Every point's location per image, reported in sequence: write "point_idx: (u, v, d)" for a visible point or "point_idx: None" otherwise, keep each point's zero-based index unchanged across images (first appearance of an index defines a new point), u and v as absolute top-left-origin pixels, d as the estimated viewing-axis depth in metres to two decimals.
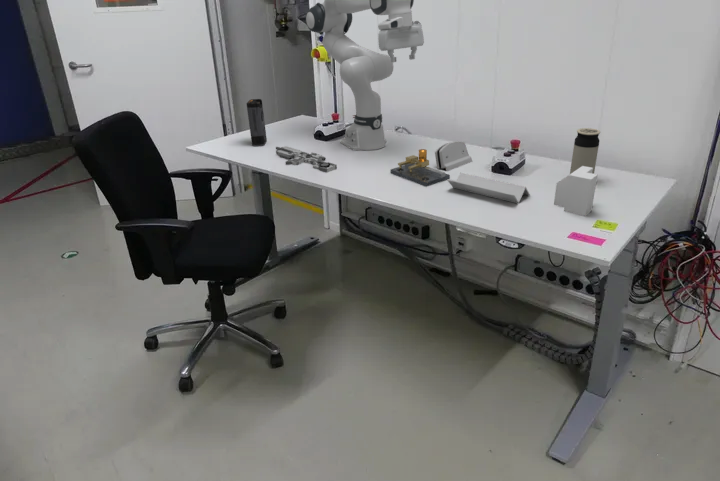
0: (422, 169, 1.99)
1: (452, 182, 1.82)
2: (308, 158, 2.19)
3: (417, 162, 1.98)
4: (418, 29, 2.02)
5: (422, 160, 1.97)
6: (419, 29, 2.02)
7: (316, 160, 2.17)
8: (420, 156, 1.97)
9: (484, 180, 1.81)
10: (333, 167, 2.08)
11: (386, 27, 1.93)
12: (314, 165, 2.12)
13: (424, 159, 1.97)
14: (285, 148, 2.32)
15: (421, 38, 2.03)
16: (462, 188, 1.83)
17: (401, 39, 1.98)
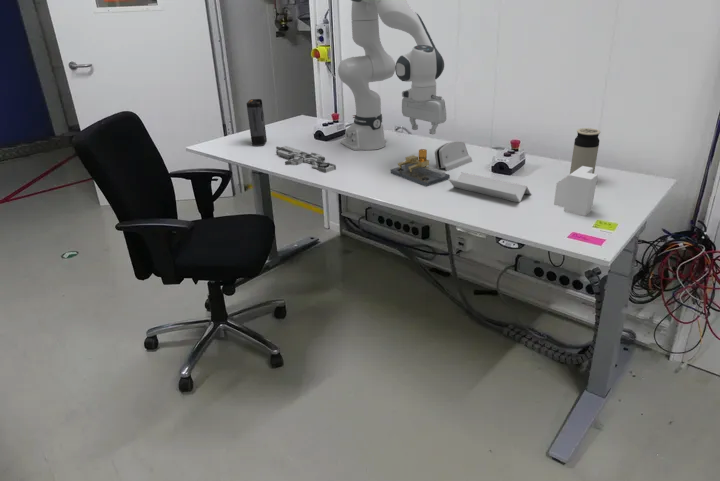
0: (422, 169, 1.99)
1: (453, 181, 1.83)
2: (308, 158, 2.19)
3: (417, 162, 1.98)
4: (434, 106, 1.83)
5: (422, 160, 1.97)
6: (435, 106, 1.82)
7: (315, 160, 2.16)
8: (420, 156, 1.97)
9: (485, 179, 1.82)
10: (332, 167, 2.08)
11: None
12: (313, 165, 2.12)
13: (424, 159, 1.97)
14: (285, 148, 2.32)
15: (436, 115, 1.83)
16: (463, 187, 1.84)
17: (416, 110, 1.90)
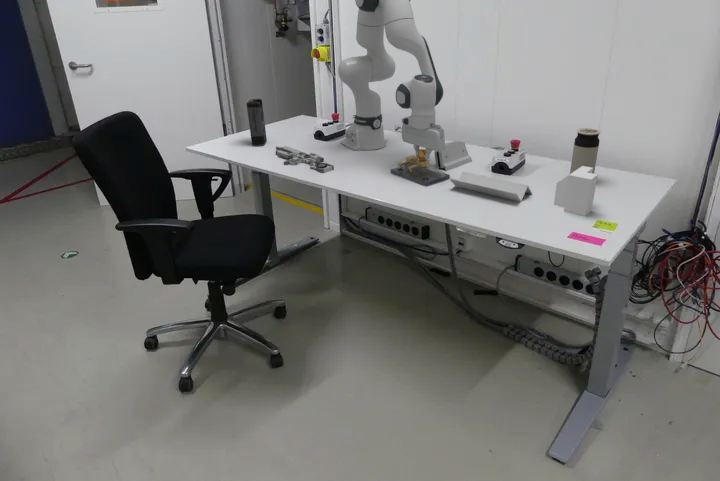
0: (422, 169, 1.99)
1: (454, 181, 1.83)
2: (306, 158, 2.19)
3: (417, 162, 1.98)
4: (433, 134, 1.87)
5: (422, 160, 1.97)
6: (434, 135, 1.87)
7: (314, 160, 2.16)
8: (420, 156, 1.97)
9: (486, 179, 1.82)
10: (330, 168, 2.08)
11: None
12: (311, 166, 2.12)
13: (424, 159, 1.97)
14: (285, 148, 2.32)
15: (435, 144, 1.88)
16: (464, 187, 1.84)
17: (416, 137, 1.95)
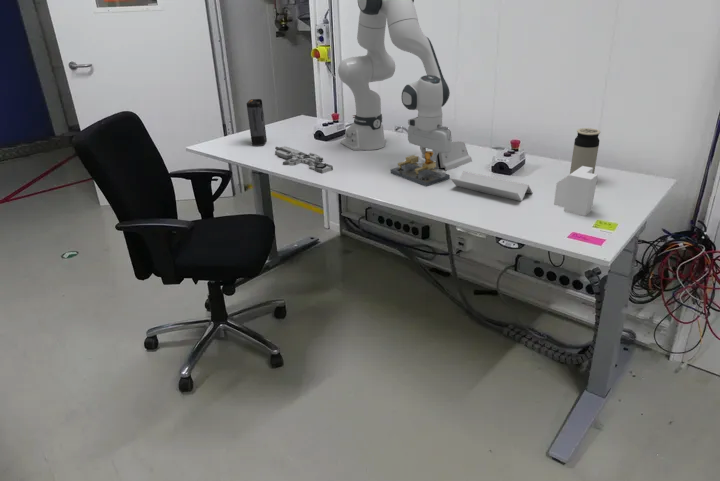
0: None
1: (455, 180, 1.83)
2: (305, 159, 2.19)
3: (423, 164, 1.96)
4: (440, 136, 1.85)
5: (429, 162, 1.95)
6: (441, 136, 1.84)
7: (313, 161, 2.16)
8: (426, 158, 1.94)
9: (487, 178, 1.83)
10: (329, 168, 2.08)
11: None
12: (310, 166, 2.11)
13: (431, 161, 1.95)
14: (284, 148, 2.32)
15: (442, 145, 1.85)
16: (465, 186, 1.84)
17: (422, 139, 1.92)
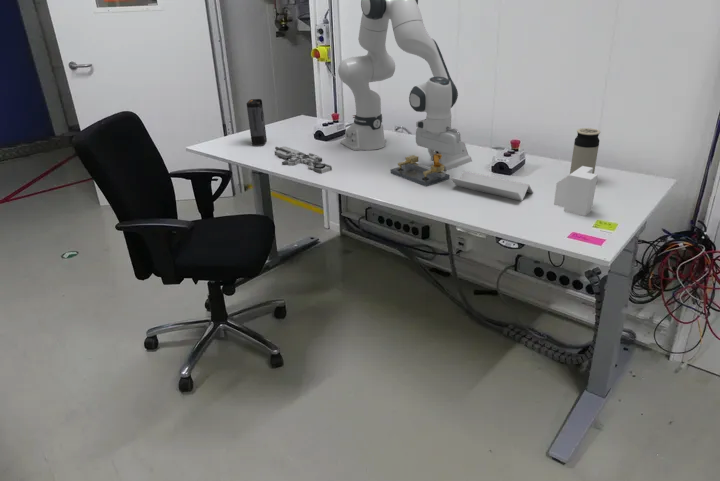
0: (422, 169, 1.99)
1: (456, 180, 1.84)
2: (305, 159, 2.19)
3: (432, 167, 1.93)
4: (449, 138, 1.81)
5: (437, 165, 1.91)
6: (450, 139, 1.81)
7: (312, 161, 2.16)
8: (435, 161, 1.91)
9: (487, 178, 1.83)
10: (328, 168, 2.07)
11: None
12: (309, 166, 2.11)
13: (439, 164, 1.91)
14: (284, 148, 2.31)
15: (451, 148, 1.82)
16: (466, 186, 1.85)
17: (431, 141, 1.89)
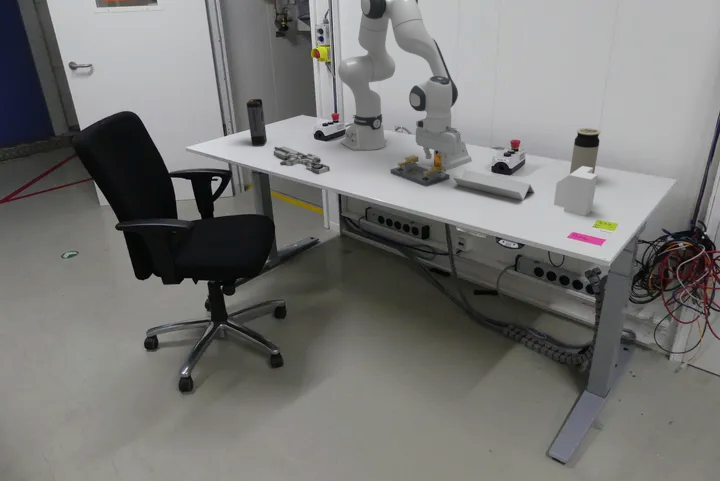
0: (422, 169, 1.99)
1: (457, 179, 1.84)
2: (303, 159, 2.18)
3: (432, 167, 1.92)
4: (449, 137, 1.81)
5: (437, 165, 1.91)
6: (450, 138, 1.81)
7: (310, 161, 2.15)
8: (435, 161, 1.91)
9: (489, 177, 1.84)
10: (325, 169, 2.07)
11: None
12: (307, 166, 2.11)
13: (439, 164, 1.91)
14: (283, 148, 2.31)
15: (451, 147, 1.82)
16: (467, 185, 1.85)
17: (431, 140, 1.89)
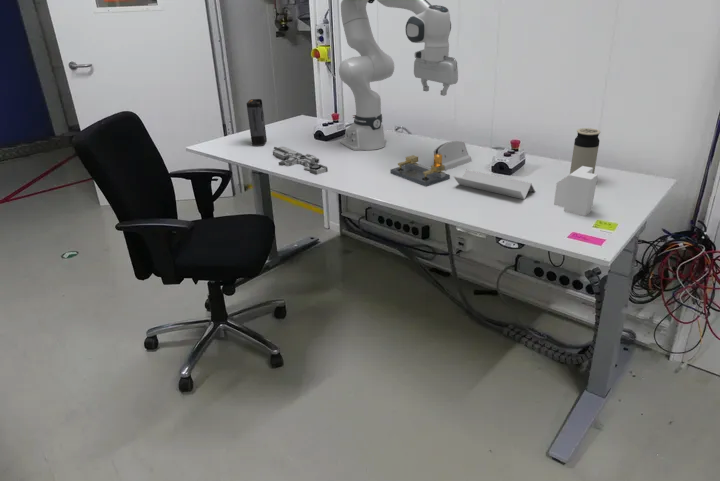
0: (422, 169, 1.99)
1: (458, 179, 1.85)
2: (301, 159, 2.18)
3: (432, 167, 1.92)
4: (446, 66, 1.85)
5: (437, 165, 1.91)
6: (447, 67, 1.85)
7: (309, 162, 2.15)
8: (435, 161, 1.91)
9: (490, 177, 1.84)
10: (323, 169, 2.06)
11: None
12: (305, 167, 2.11)
13: (439, 164, 1.91)
14: (282, 148, 2.31)
15: (448, 76, 1.86)
16: (468, 185, 1.86)
17: (428, 71, 1.93)
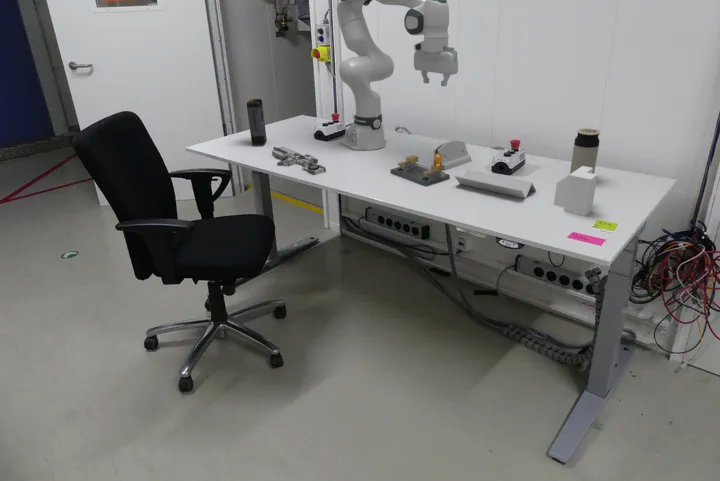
0: (422, 169, 1.99)
1: (459, 178, 1.85)
2: (300, 160, 2.18)
3: (432, 167, 1.92)
4: (446, 57, 1.87)
5: (437, 165, 1.91)
6: (447, 57, 1.86)
7: (307, 162, 2.15)
8: (435, 161, 1.91)
9: (491, 176, 1.85)
10: (321, 170, 2.06)
11: None
12: (304, 167, 2.10)
13: (439, 164, 1.91)
14: (281, 149, 2.31)
15: (448, 66, 1.87)
16: (469, 184, 1.86)
17: (429, 63, 1.94)
